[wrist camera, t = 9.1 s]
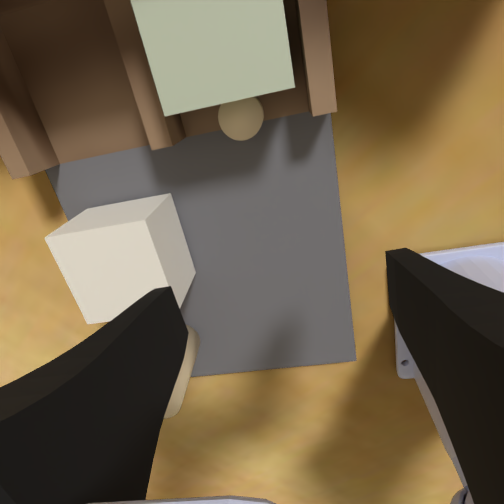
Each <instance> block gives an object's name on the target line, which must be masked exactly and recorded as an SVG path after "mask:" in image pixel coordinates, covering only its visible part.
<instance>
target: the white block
mask: <svg viewBox="0 0 504 504" xmlns="http://www.w3.org/2000/svg"><path fill="white" fill-rule="evenodd" d="M45 240H46V242H47V244H48V246H49V248H50V250H51V252H52V254H53V256H54V258H55V260H56V262H57V264H58V266H59V268H60V270H61V272H62V274H63V276H64V278H65V280H66V282H67V284H68V286H69V288H70V290H71V292H72V294H73V296H74V298H75V300H76V302H77V304H78V306H79V308H80V310H81V312H82V314H83V316H84V318H85V320H86V322H87V324H93V323H101V322H109V321H111V320H113V319H114V318H115V317H116V316H118V315H119V314H120V313H122V312H123V311H124V310H126V309H127V308H128V307H129V306H131V305H132V304H133V303H135V302H136V301H137V300H139V299H140V298H141V297H143V296H144V295H145V294H147V293H148V292H150V291H152V290H153V289H156V288H162V287H168V286H171V288H172V290H173V293H174V295H175V298H176V301H177V303H178V306H179V308H180V307H181V305H182V303H183V301H184V298H185V296H186V294H187V292H188V289H189V287H190V285H191V283H192V280H193V278H194V276H195V273H196V272H195V268H194V265H193V262H192V259H191V256H190V252H189V249H188V246H187V243H186V240H185V237H184V233H183V230H182V227H181V224H180V221H179V218H178V214H177V211H176V208H175V205H174V202H173V198H172V195H171V193H168V194H163V195H157V196H152V197H147V198H141V199H136V200H131V201H125V202H120V203H114V204H109V205H104V206H98V207H93V208H88V209H86V210H84V211H83V212H81V213H80V214H78V215H77V216H75V217H74V218H73V219H71V220H70V221H68V222H67V223H65V224H64V225H62V226H61V227H59V228H58V229H56V230H55V231H53V232H52V233H50V234H49V235H47V236H46V237H45ZM186 327H187V329H188V332H189V334H188V340H187V346H186V351H185V356H184V360H183V363H182V366H181V369H180V372H179V375H178V378H177V381H176V384H175V386H174V389H173V392H172V395H171V398H170V401H169V404H168V407H167V409H166V412H165V415H164V418H163V419H167V418H170V417H173V416H175V415H176V414H177V413H178V412H179V411H180V408H181V405H182V402H183V399H184V395H185V392H186V389H187V386H188V382H189V379H190V376H191V373H192V369H193V366H194V363H195V360H196V356H197V353H198V350H199V347H200V337H199V335H198V333H197V332H196V331H195V330H194V329H193V328H192V327H190V326H188V325H186Z"/></svg>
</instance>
